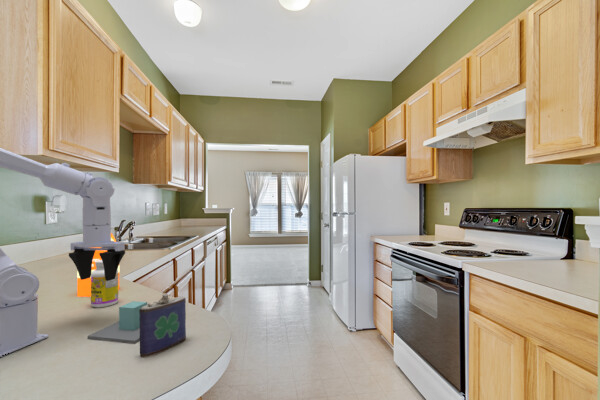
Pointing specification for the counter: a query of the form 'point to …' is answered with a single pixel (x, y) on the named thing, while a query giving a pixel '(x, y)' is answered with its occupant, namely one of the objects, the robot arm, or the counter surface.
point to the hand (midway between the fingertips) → (97, 279)
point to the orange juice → (85, 284)
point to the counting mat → (116, 334)
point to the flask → (162, 325)
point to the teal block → (130, 315)
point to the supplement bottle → (103, 287)
